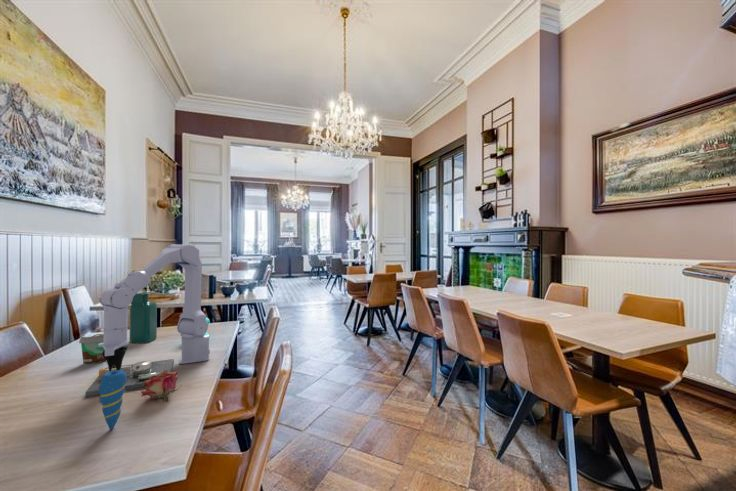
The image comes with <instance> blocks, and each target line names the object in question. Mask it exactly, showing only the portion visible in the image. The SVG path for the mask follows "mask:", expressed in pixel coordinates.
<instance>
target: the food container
mask: <svg viewBox="0 0 736 491" xmlns="http://www.w3.org/2000/svg"><path fill="white" fill-rule="evenodd" d="M78 343H79V344H80V345H81V354H82V364H83V365H89V364H90V365H91V364H92V365H93V364H98V363H103V362H104V363H105V362H107V361H106V359H105V358H104V357H103V355H102V352H103V351H105V349H104V348H103V347H98V345H99V344H100V343H104V332H102V333H98V334H94V335H92V336H81V337H80V338H79V342H78Z"/></svg>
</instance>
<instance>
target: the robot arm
mask: <svg viewBox="0 0 736 491" xmlns="http://www.w3.org/2000/svg"><path fill="white" fill-rule="evenodd" d="M169 264H177V265H179V266H181V267H182V268H183V269H184V271H185V272H184V303H183V304H184V308H183V309H184V311H183V312H181V313H180V315H179V320H178V323H177V325H176V329H177V332H178V333H180V337H181V356H180V360H179V365H184V364H185V365H186V364H191V363H198V362H199V363H200V362H206V361H209V360H210V359H209V358H210V352H211V349H210V337H209V336H210V334H209V335H205V333H207V331H208V329H209V324H208V323H207V321H206V318H207V315H206V314H205V313H204V312H203V311H202V308H201V307H202V275H203V274H202V269H203V268H202V267H203V266H202V265H203V264H202V260H201V258H200V249H199V248H197V247H196V246H195V245H193V244H190V243H189V244H176V243H171V244H169V245H168V246H167V247H165V248H163V249H162V251H161V253H159V254H158V255H157V256H156V257H155V258H154V259H153V260H151V261H150V262H149V263H148V264H147V265H145V267H144V268H142V269H141V270H134V271H129V272H128V273H127V276H126V277H125V278H124V279H122V280H120V282H116V283H115V284H114V287H109V288H107V289H106V290H104V291H103V292H102V293H101V295H100V297H99V298H98V301H99V303H100V305H102V306H103V333H104V343H100V344H99V345H98V347H103V348H104V349H105V351H103V352H102V355H103V357H104V358H105V359H106V361H105V362H106V363H107V368H108V367H109V371H111V369H112V368H116V370H120V369H121V366H123V361H124V357H125V354H126V352H127V350H128V349H129V346H127V345H128V344H129V340H128V321H129V320H128V318H129V317H128V316H129V315H128V314H129V312H128V311H129V310H128V309H129V308H128V307H129V305H131V302H132V300H133V297H134V296H135V295H136V294H137V293H140V291H142V290H143V289H144V288H146V286H148V285H149V283H150V282H151V281H150V279H151V277H153V276H154V275H156V274H157V273H159V272H160V271H161V270H163V268H166V267H167V266H168V265H169ZM112 366H113V367H112Z"/></svg>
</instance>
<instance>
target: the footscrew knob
mask: <svg viewBox="0 0 736 491" xmlns="http://www.w3.org/2000/svg"><path fill="white" fill-rule="evenodd" d="M152 362H153V361H151V360H142V361H138V362H135V363H132V364H133V375H134V376H139V375H143V374H149V373H150V372H151V364H152ZM129 365H130V366H123V365H122V366H123V367H121V369H120V370H122V371H124V372H125V373H126V375H128V374H131V364H129ZM105 368H106V369H105ZM105 368H100V369H99V370H98V376H99V379H101V377H102V375H103V374H105V373H107V372H110V371H109V368H108V367H105Z"/></svg>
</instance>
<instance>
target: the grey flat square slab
mask: <svg viewBox="0 0 736 491" xmlns="http://www.w3.org/2000/svg"><path fill="white" fill-rule="evenodd" d="M151 362H152V364H151V372H150V373H149V374H143V375H139V376H134V375H133V364H134V363H132V364H131V363H130V364H124V365H123V364H122V366H121V367H123V366H130V365H131V374H128V375H126V376H127V379H126V382H125V384H124V385H125V391H124V392H127V391H132V390H140V389H147V388H146V387H145V386H144V385H143V383H144V381H146V380H150V378H151V377H152V376H154V375H158V374H160V373H162V372H163V371H165V370H167V371H168V373H171V372H172V370H173V367H174V364H175V363H174V362H175V359H174V358H172V359H171V358H170V359H163V360H156V361H151ZM106 368H109V367H108V366H107V367H104V369H106ZM100 385H101V379H99V375H98V376H97V378H95V380H94V381H93V382H92V383H91V385H90V386H89V387H88V388H87V390H85V393H84V394H85V395H84V396H85V398H89V397H94V396H95V397H96V396H101V394H100V393H99V390H98V388H99V386H100Z"/></svg>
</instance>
